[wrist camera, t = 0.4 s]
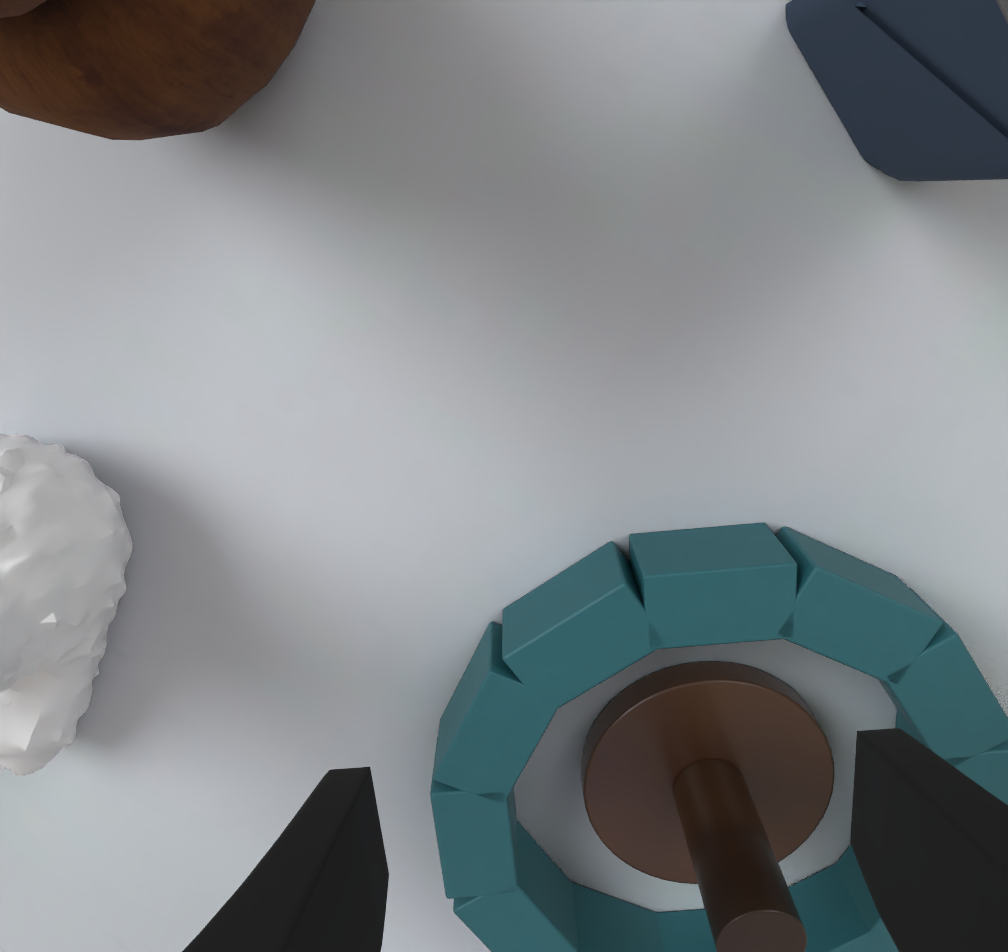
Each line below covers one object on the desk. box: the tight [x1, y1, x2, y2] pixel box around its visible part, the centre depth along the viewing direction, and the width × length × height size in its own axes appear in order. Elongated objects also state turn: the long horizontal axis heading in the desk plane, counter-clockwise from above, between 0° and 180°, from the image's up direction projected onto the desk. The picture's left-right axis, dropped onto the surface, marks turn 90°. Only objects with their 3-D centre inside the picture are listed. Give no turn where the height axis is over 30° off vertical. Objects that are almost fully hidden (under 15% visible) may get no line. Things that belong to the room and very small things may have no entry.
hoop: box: [430, 523, 1008, 952], centre depth 22 cm, size 15×15×2 cm
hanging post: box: [581, 661, 834, 952], centre depth 21 cm, size 7×7×6 cm
